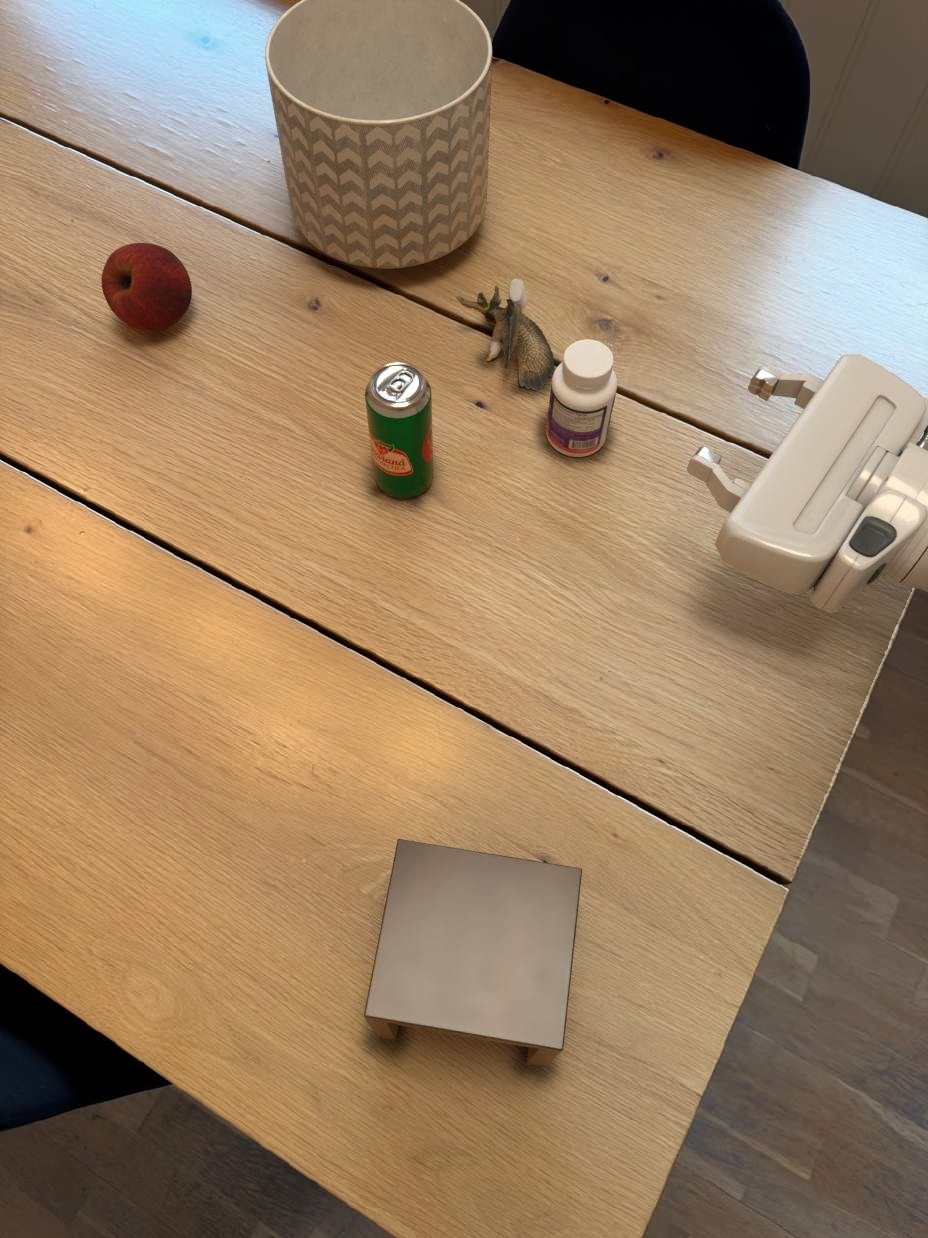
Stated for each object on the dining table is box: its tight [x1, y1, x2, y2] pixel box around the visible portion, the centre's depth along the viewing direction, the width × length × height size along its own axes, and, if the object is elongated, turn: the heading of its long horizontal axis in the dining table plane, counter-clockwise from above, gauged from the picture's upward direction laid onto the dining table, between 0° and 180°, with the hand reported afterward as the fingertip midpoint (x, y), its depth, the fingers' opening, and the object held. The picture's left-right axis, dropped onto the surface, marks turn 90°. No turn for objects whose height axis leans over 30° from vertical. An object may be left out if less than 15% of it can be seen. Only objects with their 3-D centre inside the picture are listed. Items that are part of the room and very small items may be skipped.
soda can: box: [364, 361, 435, 499], centre depth 82 cm, size 5×5×12 cm
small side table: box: [363, 838, 583, 1067], centre depth 63 cm, size 11×10×12 cm
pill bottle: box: [545, 339, 618, 458], centre depth 85 cm, size 5×5×10 cm
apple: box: [101, 242, 193, 333], centre depth 91 cm, size 7×8×8 cm
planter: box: [264, 0, 493, 270], centre depth 93 cm, size 19×19×18 cm
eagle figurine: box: [456, 278, 555, 391], centre depth 91 cm, size 8×7×9 cm
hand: (724, 416), depth 76 cm, fingers open, 8 cm apart
